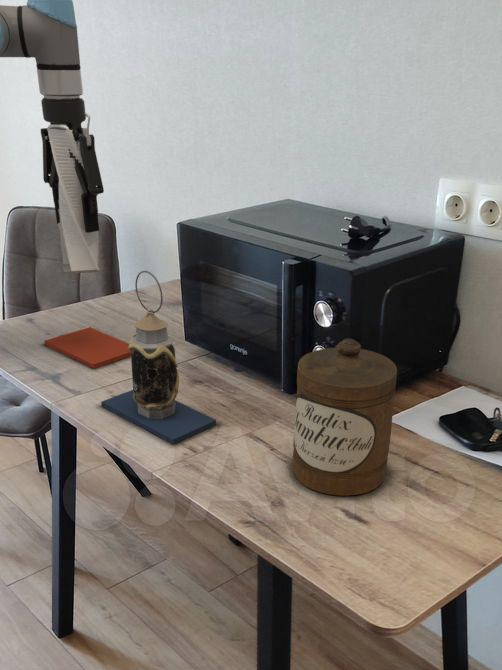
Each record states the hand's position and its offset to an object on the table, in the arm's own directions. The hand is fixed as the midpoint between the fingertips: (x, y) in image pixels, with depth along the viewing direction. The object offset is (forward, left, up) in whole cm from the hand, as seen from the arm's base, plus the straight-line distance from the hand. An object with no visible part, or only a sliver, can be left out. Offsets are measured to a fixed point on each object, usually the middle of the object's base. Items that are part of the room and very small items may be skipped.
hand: (77, 226), depth 138 cm
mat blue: (+34, -10, -25) cm, 44 cm away
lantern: (+34, -10, -25) cm, 43 cm away
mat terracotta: (0, 0, -25) cm, 25 cm away
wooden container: (+69, -2, -26) cm, 74 cm away
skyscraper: (+1, 0, -8) cm, 8 cm away
